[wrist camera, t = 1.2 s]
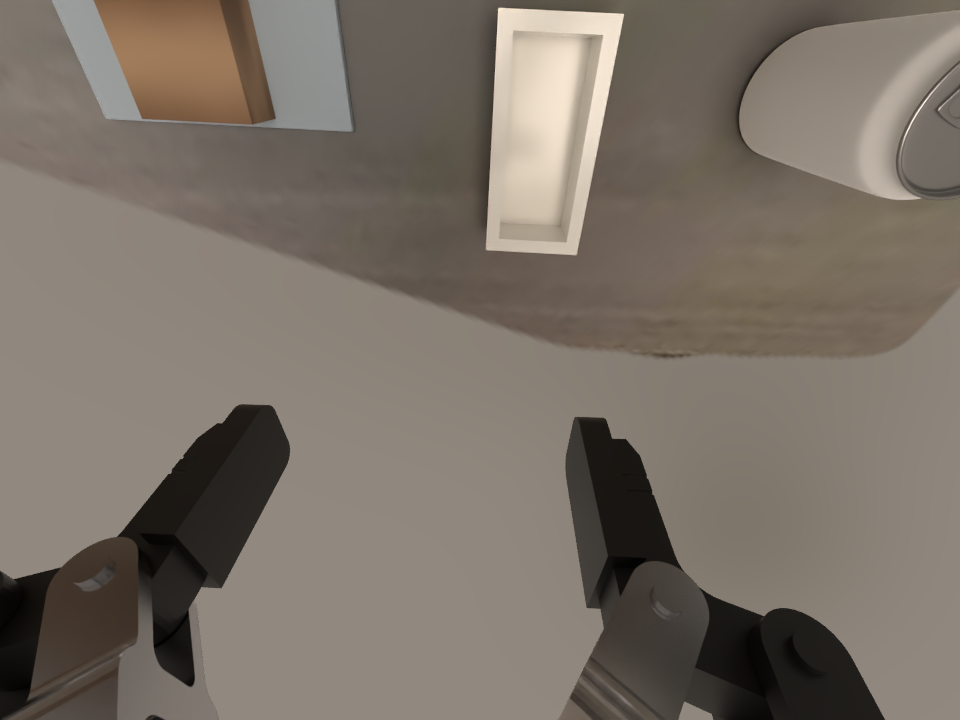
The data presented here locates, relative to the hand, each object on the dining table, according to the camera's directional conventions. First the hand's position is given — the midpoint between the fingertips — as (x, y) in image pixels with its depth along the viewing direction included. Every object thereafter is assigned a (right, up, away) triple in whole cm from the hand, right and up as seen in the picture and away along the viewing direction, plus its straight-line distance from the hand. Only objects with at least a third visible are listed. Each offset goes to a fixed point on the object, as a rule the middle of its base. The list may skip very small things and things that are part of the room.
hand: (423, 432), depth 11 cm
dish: (+5, +16, +15) cm, 23 cm away
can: (+20, +18, +13) cm, 30 cm away
